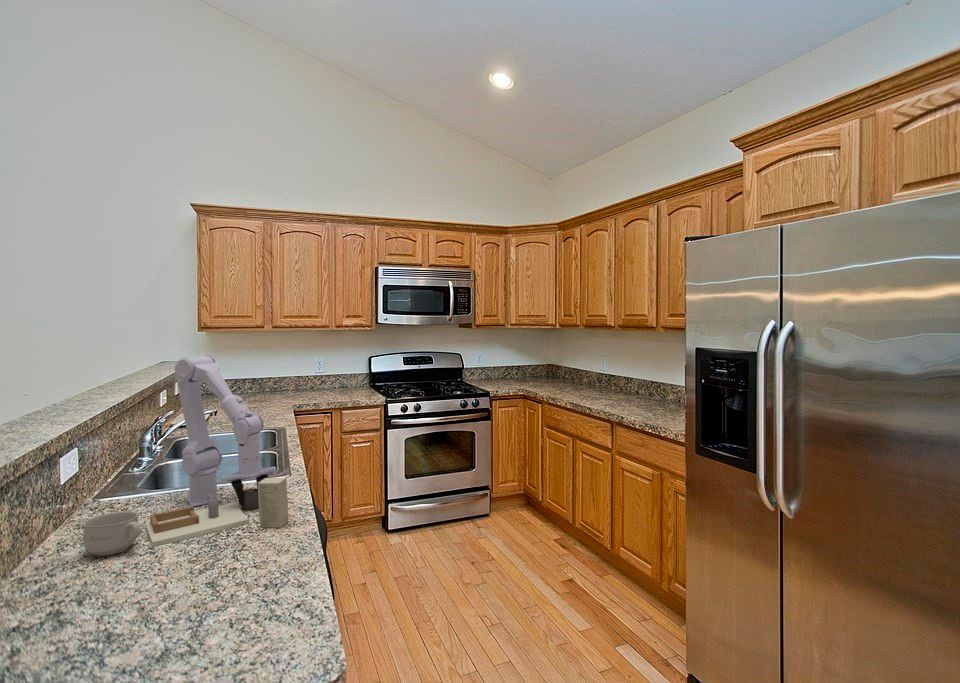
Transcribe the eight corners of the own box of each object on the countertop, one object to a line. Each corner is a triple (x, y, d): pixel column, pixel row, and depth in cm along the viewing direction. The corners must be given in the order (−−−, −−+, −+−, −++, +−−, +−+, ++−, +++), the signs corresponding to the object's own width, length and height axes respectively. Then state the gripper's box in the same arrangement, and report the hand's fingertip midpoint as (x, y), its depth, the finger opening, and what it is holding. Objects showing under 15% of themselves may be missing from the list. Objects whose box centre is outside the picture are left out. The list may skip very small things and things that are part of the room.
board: (145, 526, 135) (144, 503, 135) (234, 506, 149) (233, 485, 149) (152, 547, 123) (151, 522, 122) (248, 523, 137) (248, 501, 136)
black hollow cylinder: (240, 507, 148) (240, 490, 148) (256, 503, 151) (255, 487, 151) (244, 511, 145) (244, 494, 145) (260, 508, 148) (260, 490, 147)
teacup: (74, 554, 119) (73, 521, 119) (124, 536, 129) (123, 506, 128) (106, 568, 113) (105, 532, 112) (156, 548, 122) (155, 515, 122)
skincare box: (288, 521, 138) (287, 477, 137) (280, 528, 133) (279, 483, 133) (266, 520, 138) (265, 477, 138) (258, 527, 134) (257, 482, 133)
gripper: (225, 464, 140) (226, 513, 140) (279, 455, 149) (280, 500, 149) (219, 459, 145) (220, 505, 146) (271, 450, 154) (272, 494, 155)
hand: (250, 502), depth 148 cm, fingers closed on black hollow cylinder, 4 cm apart
